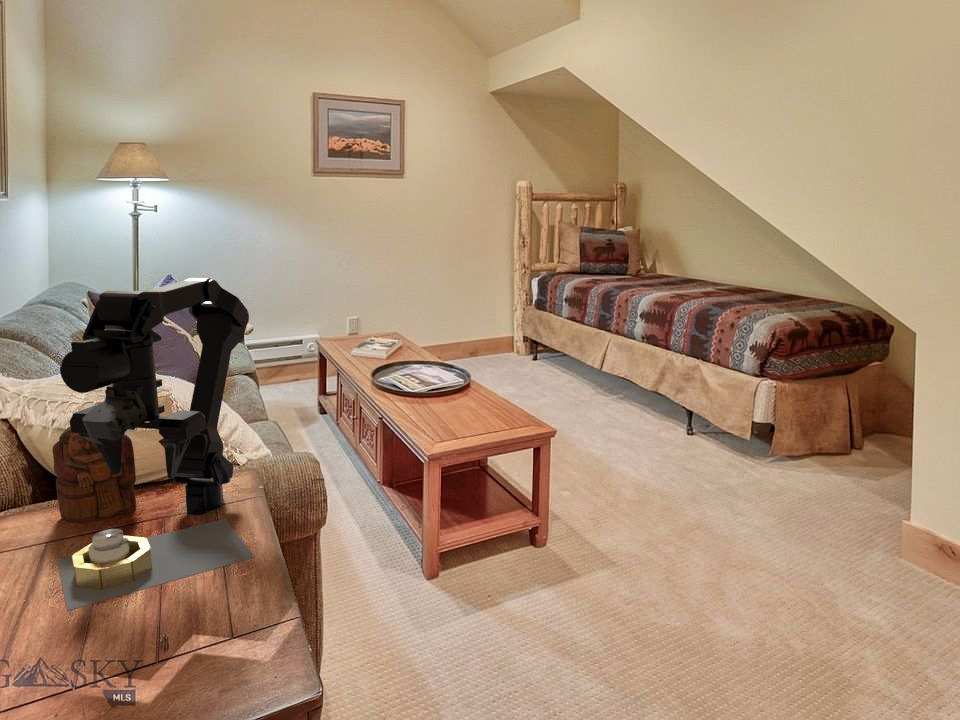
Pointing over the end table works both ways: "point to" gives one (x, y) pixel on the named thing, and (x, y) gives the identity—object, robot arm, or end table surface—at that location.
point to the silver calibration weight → (108, 547)
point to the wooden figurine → (92, 480)
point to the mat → (166, 561)
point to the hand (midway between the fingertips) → (143, 476)
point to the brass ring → (112, 566)
